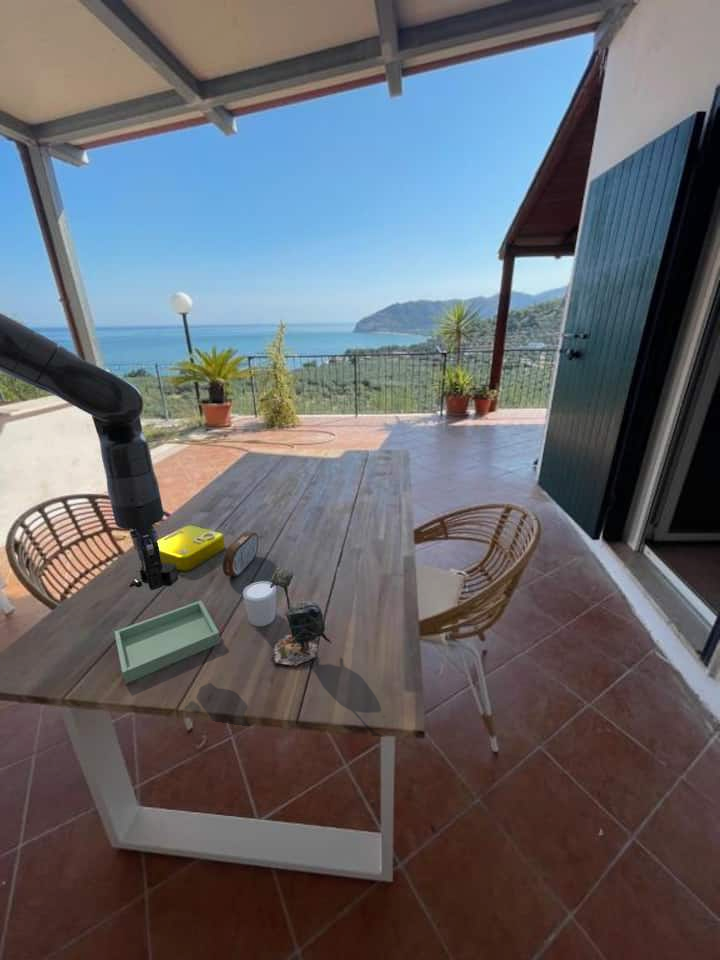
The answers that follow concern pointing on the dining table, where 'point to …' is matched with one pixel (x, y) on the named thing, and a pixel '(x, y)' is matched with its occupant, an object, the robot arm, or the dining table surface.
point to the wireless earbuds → (167, 575)
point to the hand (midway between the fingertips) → (153, 579)
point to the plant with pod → (298, 626)
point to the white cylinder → (260, 603)
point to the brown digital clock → (240, 554)
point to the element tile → (190, 547)
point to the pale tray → (165, 640)
